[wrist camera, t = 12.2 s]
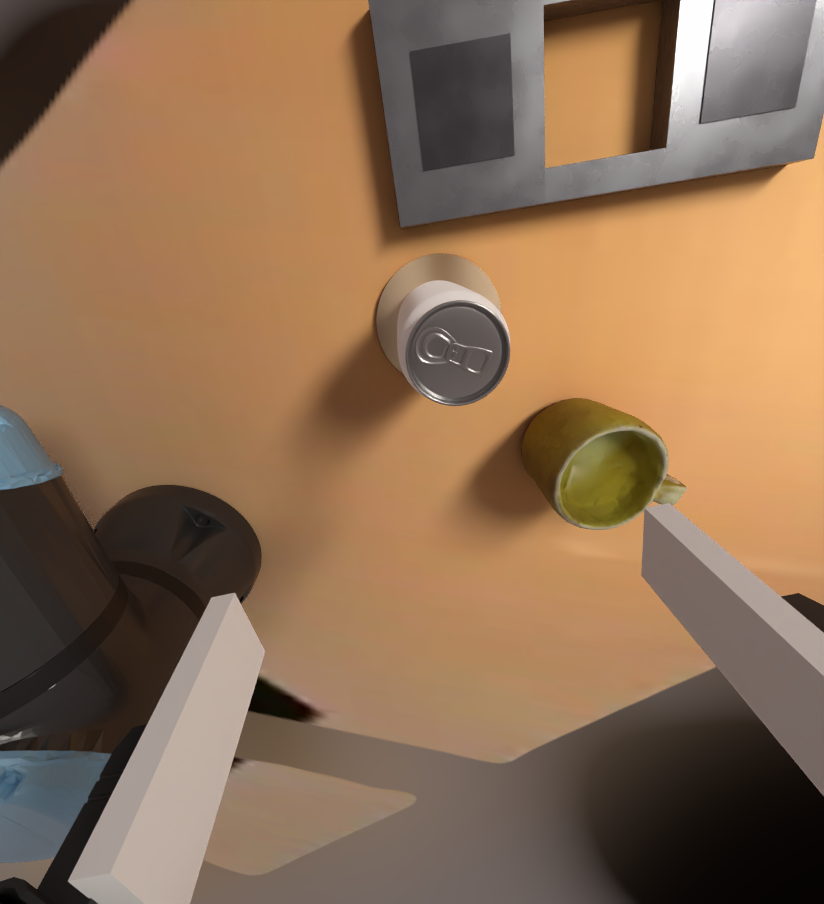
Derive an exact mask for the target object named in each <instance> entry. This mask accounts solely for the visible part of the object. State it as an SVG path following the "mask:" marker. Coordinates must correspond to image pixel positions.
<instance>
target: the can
mask: <svg viewBox="0 0 824 904" xmlns="http://www.w3.org/2000/svg"><path fill="white" fill-rule="evenodd" d="M397 350H398V358H399V363H400V366H401V369H402V372H403V374H404V376H405V378H406V379H407V381H408V382H409V383H410V385H411V386H412V387H413V388H414V389H415V390H416V391H417V392H418V393H420V394H421V395H423V396H424V397H426V398H428V399H430V400H432V401H434V402H437V403H439V404H443V405H448V406H462V405H467V404H471V403H474V402H476V401H478V400H480V399H482V398H484V397H485V396H487V395H488V394H489V393H490V392H492V391H493V390H494V389H495V388H496V386H497V385H498V384H499V383H500V381H501V380H502V378H503V376H504V374H505V372H506V370H507V367H508V363H509V358H510V335H509V330H508V327H507V324H506V322H505V320H504V318H503V316H502V314H501V313H500V311H499V310H498V309H497V308H496V306H495V305H494V304H493V303H492V302H490V301H489V300H488V299H486V298H485V297H483V296H482V295H480V294H478V293H476V292H474V291H472V290H469V289H467V288H465V287H463V286H460V285H458V284H455V283H453V282H449V281H443V280H436V281H430V282H427V283H424V284H422V285H420V286H418V287H417V288H415V289H414V290H413V291H411V292H410V293H409V294H408V296H407V297H406V298H405V299H404V301H403V303H402V305H401V307H400V310H399V314H398V321H397Z"/></svg>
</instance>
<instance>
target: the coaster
mask: <svg viewBox="0 0 824 904" xmlns="http://www.w3.org/2000/svg"><path fill="white" fill-rule="evenodd" d="M436 280H443V281H449V282H453V283H455V284H458V285H460V286H463V287H465V288H467V289H469V290H472V291H474V292H476V293H478V294H480V295H482V296H483V297H485V298H486V299H488V300H489V301H490V302H492V303H493V304H494V305H495V306H496V308H497V309H498V310H499V311H500V313H501V314H502V311H501V304H500V300H499V296H498V294H497V291H496V288H495V287H494V285H493V283H492V281H491V280H490V279H489V277H488V276H487V275H486V274H485V273H484V272H483V271H482V270H481V269H480V268H479V267H478V266H476V265H475V264H474V263H472V262H470V261H468V260H467V259H464V258H462V257H459V256H455V255H450V254H431V255H427V256H423V257H420V258H418V259H415V260H413V261H411V262H409V263H408V264H406V265H405V266H403V267H402V268H401V269H400V270H399V271H398V272H397V273H396V274H395V275H394V276H393V277H392V278H391V279H390V281H389V282H388V284H387V285H386V287H385V289H384V291H383V293H382V295H381V298H380V301H379V304H378V309H377V316H376V326H377V334H378V338H379V342H380V344H381V347H382V349H383V351H384V353H385V355H386V357H387V358H388V359H389V361H390V362H391V363H392V364H393V366H394V367H395V368H396V369H398V370H399V371H400V372H401V373H402V374H403V372H402V369H401V366H400V363H399V358H398V350H397V321H398V314H399V310H400V307H401V305H402V303H403V301H404V299H405V298H406V297H407V296H408V294H409V293H410V292H411V291H413V290H414V289H415V288H417V287H418V286H420V285H422V284H424V283H427V282H430V281H436Z"/></svg>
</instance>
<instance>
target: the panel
mask: <svg viewBox="0 0 824 904" xmlns="http://www.w3.org/2000/svg"><path fill="white" fill-rule="evenodd" d="M652 1H657V0H368V2H369V11H370V18H371V25H372V32H373V39H374V46H375V53H376V60H377V67H378V74H379V81H380V89H381V96H382V103H383V110H384V117H385V124H386V131H387V138H388V145H389V152H390V159H391V166H392V173H393V180H394V187H395V194H396V201H397V209H398V216H399V223H400V229H404V228H410V227H416V226H422V225H428V224H434V223H440V222H446V221H452V220H458V219H464V218H470V217H476V216H482V215H488V214H494V213H500V212H506V211H512V210H518V209H524V208H530V207H536V206H542V205H548V204H554V203H560V202H566V201H572V200H578V199H584V198H590V197H596V196H602V195H608V194H614V193H620V192H626V191H632V190H638V189H644V188H650V187H656V186H662V185H668V184H674V183H680V182H686V181H692V180H698V179H704V178H710V177H716V176H722V175H728V174H734V173H740V172H746V171H752V170H758V169H764V168H770V167H776V166H782V165H788V164H792V163H796V162H800V161H804V160H809V159H813V158H814V155H815V150H816V146H817V141H818V137H819V132H820V128H821V123H822V119H823V114H824V0H662V9H661V21H660V33H659V46H658V58H657V71H656V83H655V95H654V108H653V120H652V133H651V145H650V151H644V152H639V153H633V154H627V155H621V156H615V157H609V158H603V159H597V160H591V161H586V162H580V163H574V164H568V165H562V166H556V167H550V168H545V115H544V21H546V20H552V19H558V18H563V17H569V16H574V15H580V14H585V13H591V12H596V11H602V10H607V9H613V8H618V7H624V6H629V5H635V4H641V3H646V2H652Z"/></svg>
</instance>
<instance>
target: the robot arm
mask: <svg viewBox="0 0 824 904" xmlns="http://www.w3.org/2000/svg"><path fill="white" fill-rule="evenodd" d="M62 474H63V470H62V468H61V466H60V465H59V464H57V463H55V462H53V461H52V460H51V459H50V457H49V456H48V454H47V453H46V451H45V450H44V448H43V447H42V445H41V444H40V442H39V441H38V440H37V438H36V437H35V435H34V434H33V432H32V431H31V429H30V428H29V426H28V425H27V423H26V422H25V421H24V420H23V419H22V418H21V417H20V416H19V415H18V414H17V413H15V412H14V411H12V410H10V409H9V408H6V407H4V406H1V405H0V863H15V862H29V861H38V860H43V859H50V858H54V857H55V858H54V860H53V862H52V864H51V866H50V867H49V869H48V871H47V873H46V874H45V876H44V878H43V880H42V882H41V884H40V885H39V887H38V889H35V888H34V887H33V886H32V885H30V884H29V883H28V882H26V881H25V880H22V879H19V878H15V877H13V878H10V879H7V880H4V881H0V904H190V901H191V898H192V895H193V891H194V888H195V884H196V881H197V878H198V874H199V871H200V868H201V865H202V861H203V858H204V855H205V851H206V848H207V845H208V841H209V838H210V835H211V831H212V828H213V824H214V821H215V818H216V814H217V811H218V808H219V804H220V801H221V798H222V794H223V791H224V788H225V784H226V781H227V778H228V774H229V771H230V768H231V764H232V761H233V758H234V754H235V751H236V748H237V744H238V741H239V738H240V734H241V731H242V728H243V724H244V721H245V718H246V714H247V711H248V707H249V704H250V701H251V697H252V694H253V691H254V687H255V684H256V681H257V677H258V674H259V671H260V667H261V664H262V661H263V657H264V654H265V650H264V648H263V646H262V645H261V643H260V641H259V639H258V637H257V635H256V633H255V631H254V629H253V627H252V625H251V623H250V621H249V619H248V617H247V615H246V613H245V611H244V609H243V608H242V606H241V603H242V602H243V601H244V600H245V599H246V597H247V596H248V594H249V593H250V591H251V589H252V587H253V585H254V583H255V580H256V578H257V576H258V574H259V571H260V567H261V548H260V544H259V541H258V539H257V536H256V534H255V532H254V531H253V529H252V527H251V526H250V524H249V523H248V522H247V521H246V519H245V518H244V517H243V516H242V515H241V514H240V513H239V512H238V511H236V510H235V509H234V508H233V507H232V506H230V505H229V504H227V503H226V502H224V501H223V500H221V499H219V498H217V497H215V496H213V495H211V494H209V493H206V492H203V491H200V490H197V489H194V488H189V487H184V486H176V485H159V486H152V487H147V488H143V489H140V490H137V491H135V492H132V493H131V494H129V495H127V496H126V497H124V498H123V499H121V500H120V501H119V502H118V503H117V504H116V505H114V506H113V507H112V508H111V509H110V510H109V511H108V512H107V513H106V514H105V515H104V516H103V517H102V518H101V519H100V521H99V522H98V523H97V525H96V527H95V529H94V531H93V529H92V528H91V526H90V524H89V523H88V521H87V519H86V517H85V516H84V514H83V512H82V511H81V509H80V507H79V506H78V504H77V502H76V500H75V499H74V497H73V495H72V494H71V492H70V490H69V488H68V487H67V485H66V483H65V482H64V480H63V478H62V477H61V475H62ZM641 576H642V577H643V578H644V579H645V580H646V582H647V583H648V584H649V585H650V586H651V588H652V589H653V590H654V591H655V593H656V594H657V595H658V596H659V597H660V599H661V600H662V601H663V602H664V603H665V605H666V606H667V607H668V608H669V609H670V611H671V612H672V613H673V614H674V615H675V617H676V618H677V619H678V620H679V622H680V623H681V624H682V625H683V626H684V628H685V629H686V630H687V631H688V632H689V634H690V635H691V636H692V637H693V638H694V640H695V641H696V642H697V643H698V645H699V646H700V647H701V648H702V649H703V651H704V652H705V653H706V654H707V655H708V657H709V658H710V659H711V660H712V661H713V663H714V664H715V665H716V666H717V668H718V669H719V670H720V671H721V672H722V674H723V675H724V676H725V677H726V678H727V680H728V681H729V682H730V683H731V684H732V686H733V687H734V688H735V689H736V691H737V692H738V693H739V694H740V695H741V697H742V698H743V699H744V700H745V701H746V702H747V704H748V705H749V706H750V707H751V709H752V710H753V711H754V712H755V713H756V715H757V716H758V717H759V718H760V719H761V720H762V722H763V723H764V724H765V726H766V727H767V728H768V729H769V730H770V732H771V733H772V734H773V735H774V736H775V738H776V739H777V740H778V741H779V743H780V744H781V745H782V746H783V747H784V748H785V750H786V751H787V752H788V753H789V755H790V756H791V757H792V758H793V759H794V761H795V762H796V763H797V764H798V766H799V767H800V768H801V769H802V770H803V772H804V773H805V774H806V775H807V776H808V778H809V779H810V780H811V781H812V782H813V784H814V785H815V786H816V787H817V788H818V790H819V791H820V792H821V793H822V795H824V605H822V604H820V603H818V602H816V601H814V600H811V599H809V598H807V597H805V596H803V595H801V594H799V593H797V594H792V595H787V596H782V597H780V596H779V595H778V594H777V593H776V592H774V591H773V590H772V589H771V588H770V587H769V586H767V585H766V584H765V583H764V582H763V581H761V580H760V579H759V578H758V577H757V576H755V575H754V574H753V573H752V572H751V571H750V570H748V569H747V568H746V567H745V566H744V565H742V564H741V563H740V562H739V561H738V560H736V559H735V558H734V557H733V556H732V555H730V554H729V553H728V552H727V551H726V550H725V549H723V548H722V547H721V546H720V545H719V544H717V543H716V542H715V541H714V540H713V539H711V538H710V537H709V536H708V535H707V534H706V533H704V532H703V531H702V530H701V529H700V528H698V527H697V526H696V525H695V524H694V523H692V522H691V521H690V520H689V519H688V518H686V517H685V516H684V515H683V514H682V513H681V512H679V511H678V510H677V509H676V508H675V507H673V506H672V505H671V504H670V503H667V504H662V505H657V506H652V507H647V508H645V511H644V532H643V553H642V574H641Z"/></svg>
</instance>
